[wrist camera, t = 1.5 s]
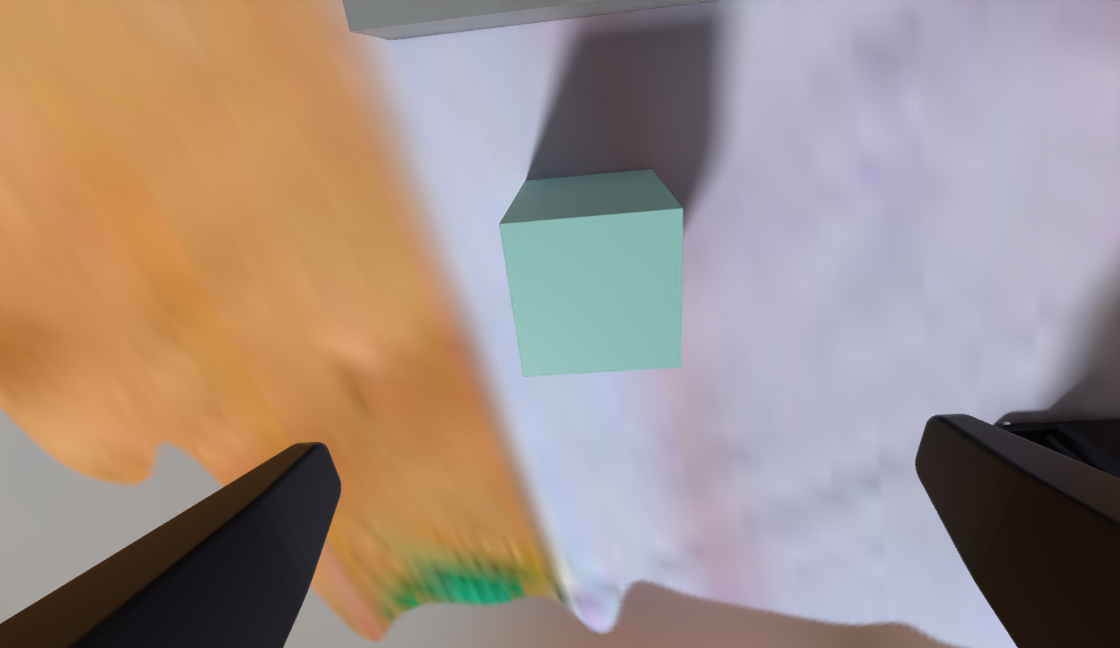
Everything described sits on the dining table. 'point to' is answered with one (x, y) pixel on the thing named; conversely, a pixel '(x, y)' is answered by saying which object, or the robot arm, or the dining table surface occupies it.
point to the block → (595, 273)
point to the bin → (476, 14)
